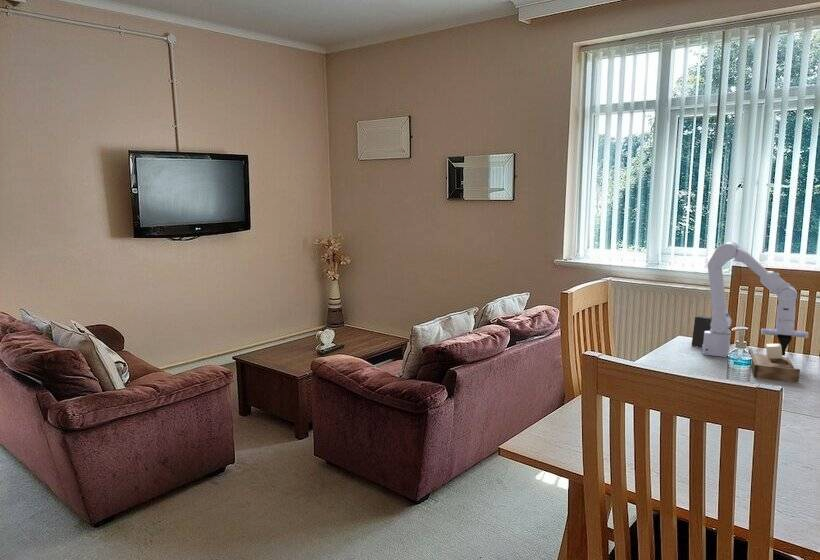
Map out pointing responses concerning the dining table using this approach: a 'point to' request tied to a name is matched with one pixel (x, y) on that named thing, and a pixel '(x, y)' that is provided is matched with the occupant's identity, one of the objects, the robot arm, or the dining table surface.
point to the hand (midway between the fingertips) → (782, 354)
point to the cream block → (774, 351)
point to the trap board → (773, 368)
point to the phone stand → (700, 329)
